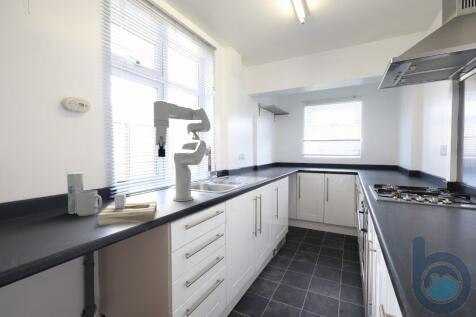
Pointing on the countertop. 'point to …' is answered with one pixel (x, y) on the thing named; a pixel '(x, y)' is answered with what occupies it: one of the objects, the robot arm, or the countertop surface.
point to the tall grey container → (74, 189)
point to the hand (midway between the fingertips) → (161, 156)
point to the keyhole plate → (128, 213)
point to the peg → (120, 201)
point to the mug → (88, 202)
